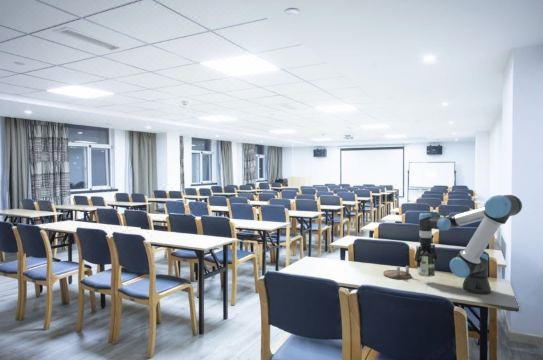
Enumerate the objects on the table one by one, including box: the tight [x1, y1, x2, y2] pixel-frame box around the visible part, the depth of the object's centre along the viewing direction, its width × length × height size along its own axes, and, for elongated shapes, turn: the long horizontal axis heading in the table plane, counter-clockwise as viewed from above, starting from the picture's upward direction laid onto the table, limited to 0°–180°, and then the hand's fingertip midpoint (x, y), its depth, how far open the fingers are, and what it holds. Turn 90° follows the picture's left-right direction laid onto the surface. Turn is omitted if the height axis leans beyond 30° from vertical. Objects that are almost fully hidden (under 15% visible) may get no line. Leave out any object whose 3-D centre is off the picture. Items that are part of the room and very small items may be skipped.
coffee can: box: [417, 251, 436, 278], centre depth 237 cm, size 10×10×14 cm
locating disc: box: [382, 265, 412, 281], centre depth 253 cm, size 18×18×8 cm
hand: (426, 271), depth 237 cm, fingers closed on coffee can, 10 cm apart
